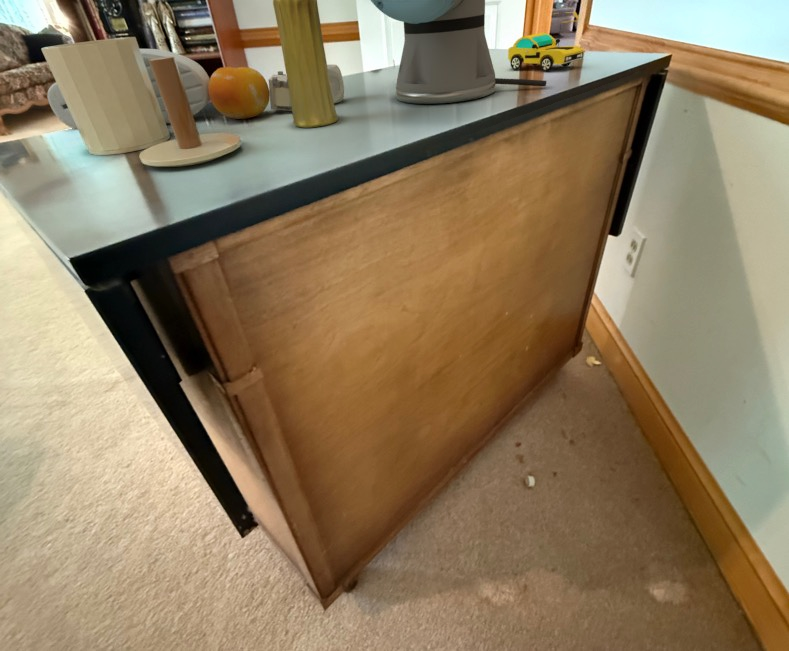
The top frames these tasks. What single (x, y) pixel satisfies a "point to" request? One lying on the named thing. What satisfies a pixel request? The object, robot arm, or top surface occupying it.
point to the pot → (108, 94)
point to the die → (336, 83)
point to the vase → (305, 62)
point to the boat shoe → (189, 71)
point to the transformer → (279, 92)
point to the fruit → (238, 92)
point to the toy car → (543, 51)
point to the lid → (182, 125)
